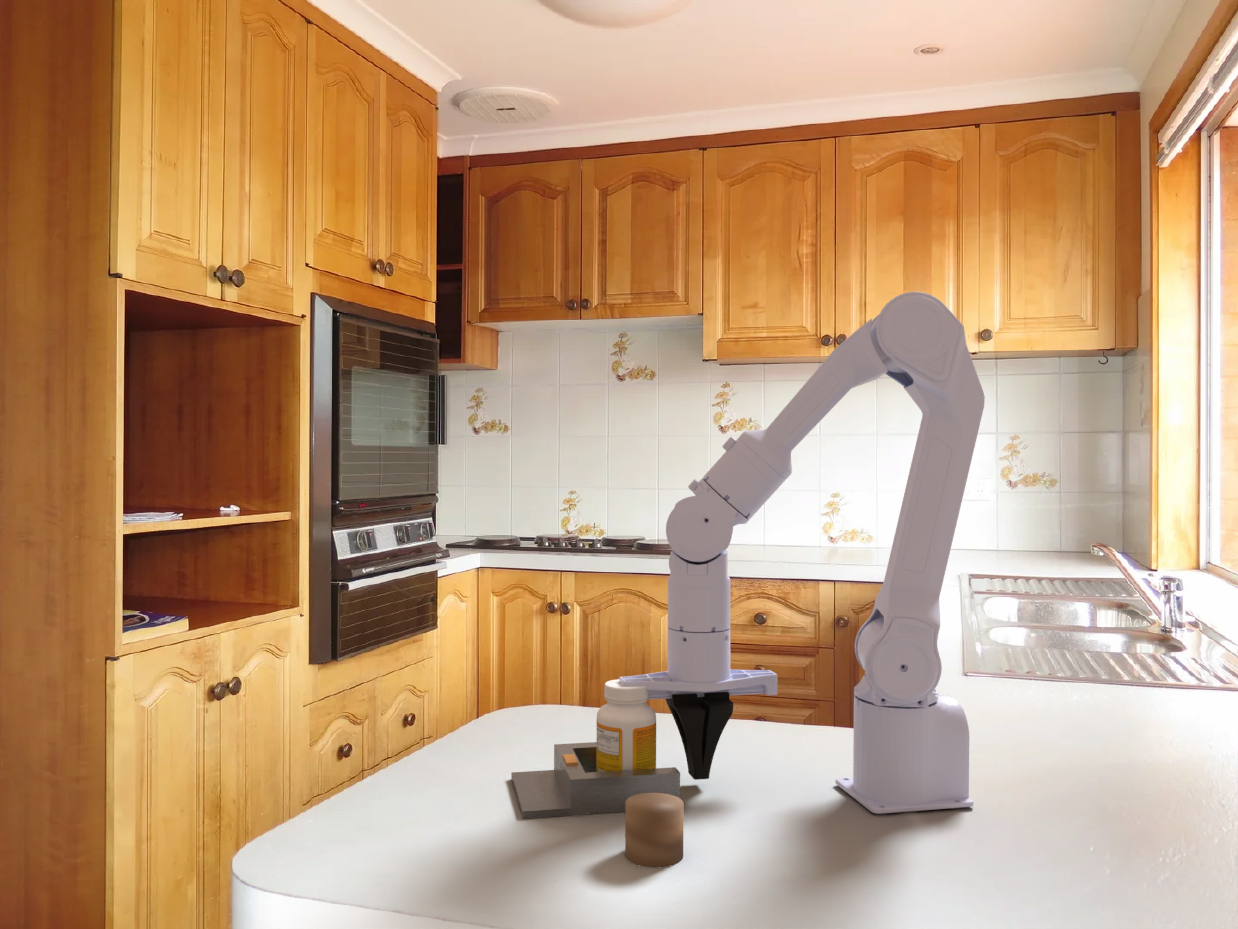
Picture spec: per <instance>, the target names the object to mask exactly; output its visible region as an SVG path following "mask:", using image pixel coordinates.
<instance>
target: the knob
mask: <svg viewBox="0 0 1238 929" xmlns="http://www.w3.org/2000/svg"><path fill="white" fill-rule="evenodd" d="M684 808H685V804H684V801H683V800H682V799H681V797H680V798H678V797H676V796H673V795H670V794H664V793H642V794H637V795H634V796H631V797H629V798H628V799H627V800H626V806H625V812H624V813H625V814H624V815H625V816H624V817H625V822H624V823H625V824H624V827H625V828H624V829H625V830H624V836H625V837H624V838H625V840H624V849H625V850H624V856H625V858H626V860H627V861H628V862H630V863H631V864H633V865H637V866H639V865H640V867H643V866H644V867H645V868H653V869H654V868H655V869H656V868H657V869H658V868H659V867H660V868H667V866H668V867H671V866H670V865H672V866H675V865H676V864H679V863H681V861H683V859H684V827H685V826H684V825H685V823H684V814H685V813H684V812H685V809H684ZM660 868H659V869H660Z"/></svg>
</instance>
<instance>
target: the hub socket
mask: <svg viewBox="0 0 1238 929" xmlns="http://www.w3.org/2000/svg"><path fill="white" fill-rule="evenodd" d="M553 747H554V748H553V749H554V750H553V762H554V763H553V769H550V770H549V769H547V770H546V769H545V770H533V771H532V770H531V771H529V770H528V771H513V772H512V771H511V782H512V786H513V790H514V793H515V795H516V796H515V797H516V799H517V804H518V807H519V811H520V814H521V818H522V819H536V818H551V817H553V818H554V817H565V816H566V817H567V816H579V815H580V816H581V815H593V814H594V815H595V814H597V815H598V814H609V813H610V814H611V813H623V812H624V813H625V806H626V800H627V799H628V798H629V797H631V796H634V795H637V794H642V793H664V794H670V795H673V796H676V797H678V798H680V799H681V772H680V771H679V769H678V768H677V767H675V766H674V767H659V768H657V767H656V768H655V769H639V770H623V771H606V772H596V756H597V754H596V753H597V748H596V747H597V741H595V742H593V741H591V742H576V743H575V742H574V743H573V742H572V743H559V744H558V743H557V744H556V743H555V744H554V745H553Z"/></svg>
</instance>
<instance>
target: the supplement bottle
mask: <svg viewBox="0 0 1238 929" xmlns="http://www.w3.org/2000/svg"><path fill="white" fill-rule="evenodd" d="M603 696H604V700H605V701H606V703H605V704H604V705H602V706H601V707H599V709H598V710H597V712H596V742H597V747H596V748H597V753H596V754H597V756H596V772H606V771H623V770H639V769H655V768H657V715H656V712H655V710H654V708H653V707H652V706H650V705H649V704H647V701H649V700H648V699H649V698H648V697H649V690H646V687H645V686H623V685H622V684H621V683H620V682H619V678H618V679H611V680H607V681H606V682H605V683H604V694H603Z"/></svg>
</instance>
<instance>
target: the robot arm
mask: <svg viewBox="0 0 1238 929" xmlns="http://www.w3.org/2000/svg"><path fill="white" fill-rule="evenodd" d="M884 375H887V376H888V377H890V378H891V379H893V380H894V381H895V382H897V383H898V384H900V385H901V386H903V388H904V390H905V391H906V393H907V394H908V395H909V397H910V398H911V399H912V400H913V402H914V403H915V404H916V406H917V407H918V408H919V410H920V411H921V414H922V415H921V416H922V417H921V421H920V424H919V430H918V434H917V438H916V442H915V446H914V451H913V455H912V458H911V459H912V460H911V462H910V467H909V472H908V476H907V480H906V481H907V482H906V484H905V489H904V493H903V494H904V495H903V497H902V501H901V502H902V503H901V506H900V511H899V514H898V519H897V524H896V529H895V532H894V536H893V540H892V545H891V550H890V554H889V559H888V562H887V566H886V567H887V568H886V571H885V575H884V580H883V582H882V585H881V586H880V589H879V591H878V592H877V595H876V596H875V597H876V598H875V601H874V605H873V609H872V612H871V614H870V615H869V617H868V618H867V620H866V621H865V622H864V623H863V624H862V625H861V626H860V628H859V629H858V631H857V633H856V636H855V640H854V653H855V656H856V657H855V658H856V659H857V662H858V663H859V666H861V668H862V670H864V674H863V676H862V678H861V679H860V681H859V682H858V683H857V684H856V685H855V686H854V687H853V755H852V756H853V757H852V758H853V759H852V761H853V762H852V765H853V766H852V770H853V771H852V772H853V773H852V776H849V777H848V776H847V777H846V776H845V777H838V778H835V780H834V781H835V784H836V786H838V787H839V788H840V789H842V790H843V791H844V792H845V793H847V794H848V795H849V796H851V797H852V798H853V799H855V800H856V801H857V802H859V804H861V805H862V806H863V807H865V808H866V809H867V810H868V811H870V812H871V813H873V814H877V815H878V814H880V815H881V814H892V813H894V814H895V813H902V812H903V813H906V812H919V811H931V810H932V811H933V810H943V809H944V810H946V809H961V808H971V807H974V800H973V799H971V798H970V792H969V790H970V729H969V724H968V723H969V722H968V718H967V715H966V713H965V710H964V708H963V706H962V705H961V703H960V702H959V701H958V700H957V699H955V698H954V697H953V696H951V695H947V694H939V692H938V691H937V690H936V687H937V686H938V685H939V682H940V680H941V677H942V670H943V668H942V667H943V665H942V660H941V656H940V653H939V648H938V638H939V633H940V628H941V611H940V596H941V592H942V588H943V583H944V580H945V574H946V570H947V566H948V562H949V559H950V558H949V557H950V553H951V550H952V545H953V540H954V536H955V532H956V528H957V523H958V519H959V515H960V511H961V506H962V501H963V498H964V493H965V489H966V486H967V482H968V476H969V473H970V468H971V464H972V459H973V456H974V450H975V447H976V443H977V439H978V433H979V431H980V425H981V421H982V417H983V412H984V408H985V398H986V396H985V393H984V390H983V388H982V384H981V382H980V381H981V380H980V379H979V376H978V373H977V370H976V367H975V364H974V362H973V360H972V357H971V354H970V351H969V347H968V344H967V340H966V332H965V326H964V325H963V324H962V322H961V320H959V319H958V318H957V317H956V316H955V315H954V313H953V312H952V311H951V310H950V309H949V307H947V306H946V304H945V303H944V302H943V301H942V300H940V299H939V298H937V297H936V296H934V295H932V294H930V293H926V292H923V291H908V292H904V293H901V294H899V295H897V296H895V297H893V298H892V299H890V300H889V301H888V302H887V303H886V304H885V305H884V306H883V308H882V309H881V310H880V313H878V315H876V317H874V318H870V319H869V320H867V321H866V322H864V324H862V325H861V326H860V327H859V328H857V330H855V331H854V332H853V333H851V335H850V336H848V337H847V338H846V339H845V340H843V342H841V343H840V344H839V345H838V346H837V347H835V349H833V350H832V352H831V353H830V354H829V355H828V356H827V357H826V359H825V360H824V361H823V362H822V363H821V365H820V366H819V367H818V368H817V370H815V372H814V373H813V374H812V375H811V376H810V377H809V379H807V381H806V382H805V383H804V385H803V386H802V387H801V388H800V389H799V390H798V392H796V394H795V395H794V396H793V398H792V399H790V401H789V402H788V403H787V404H786V406H785V407H784V408H783V409H782V410H781V411H780V412H779V413H778V414H777V416H776V417H775V418H774V419H773V421H772V422H771V423H770V424H769V425H768V427H767V428H765V429H760V430H759V429H754V430H744V431H743V432H742V433H741V434H740V435H739V436H738V437H737V439H735V438H734V437H733V436H730V437H729V438H728V439H727V440H726V442H724V444H723V445H722V449H724V450H725V452H724V453H723V454H722V455H721V457H720V458H718V460H717V461H716V462H715V463H714V464H713V465H712V466H711V468H710V469H709V470H708V471H706V473H705V474H704V476H703V477H702V478H701V479H700V480H698V479H696V478H695V479H693V480H692V481H691V483H689V485H688V486H687V487H688V489H689V490H690V491H691V492H692V493H693V494H694V495H690V496H688V497H684V498H682V499H680V500H678V501H677V502H676V503H675V505H674V508H673V509H671V511H670V514H669V515H668V517H667V520H666V524H665V534H666V539H667V542H668V544H669V547H670V549H672V550H671V551H670V555H669V558H668V567H669V570H670V574H669V575H668V578H667V670H666V671H665V670H664V671H659V672H651V673H646V674H643V673H642V674H637V675H630V676H629V675H628V676H619V677H618V679H619V682H620V683H621V684H622V685H623V686H645V687H646V690H649V697H648V698H649V699H648V700H647V701H649V700H665V702H666V705H667V706H668V709H669V711H670V712H671V716H672V717H673V721H674V722H675V724H676V727H677V730H678V732H679V736H680V738H681V742H682V745H683V749H684V750H683V751H684V754H685V757H686V759H685V760H686V764H687V769H688V770H687V771H688V774H689V775H690V776H691V778H692V779H693V780H695V781H698V780H708V779H710V772H711V768H712V764H713V760H714V756H715V753H716V749H717V746H718V744H719V741H720V739H721V736H722V734H723V731H724V729H725V728H726V725H727V724H728V722H729V720H730V718H731V717H732V716H733V712H734V701H732V699H730V696H743V695H744V696H745V695H764V694H765V696H778V674H777V673H776V672H774V671H772V670H771V669H764V670H763V669H761V670H760V669H732V668H731V588H732V587H731V585H732V584H731V582H732V581H731V578H730V576H729V573H728V559H729V558H728V556H729V555H728V550H727V549H728V548H729V546H730V544H731V541H732V536H733V532H734V527H735V526H737V525H746V524H747V523H748V522H749V521H750V520H751V519H752V518H753V517H754V515H755V514H756V513H757V512H758V511H759V510H760V509H761V507H762V506H763V505H765V503H766V502H767V501H768V500H769V499H770V498H772V496H773V495H774V494H775V492H776V491H777V490H778V489H779V488H780V487H781V485H783V483H785V481H786V480H787V479H789V477H790V476H791V475H792V472H793V467H792V466H793V465H792V451H793V450H794V449H795V448H796V447H797V446H798V445H799V444H800V443H801V442H802V441H803V440H804V439H805V437H807V435H808V434H809V433H810V432H811V431H813V429H814V428H816V426H817V425H818V424H819V423H820V422H821V421H822V420H823V419H824V417H826V416H827V415H828V414H829V412H830V411H831V410H833V408H834V407H835V406H836V405H837V404H838V403H839V402H841V401H842V399H843V398H844V397H845V396H846V395H847V394H848V393H849V391H851V390H852V389H854V388H856V387H859V386H862V385H865V384H868V383H870V382H873V381H876V380H877V379H879V378H880V377H882V376H884Z"/></svg>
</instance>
